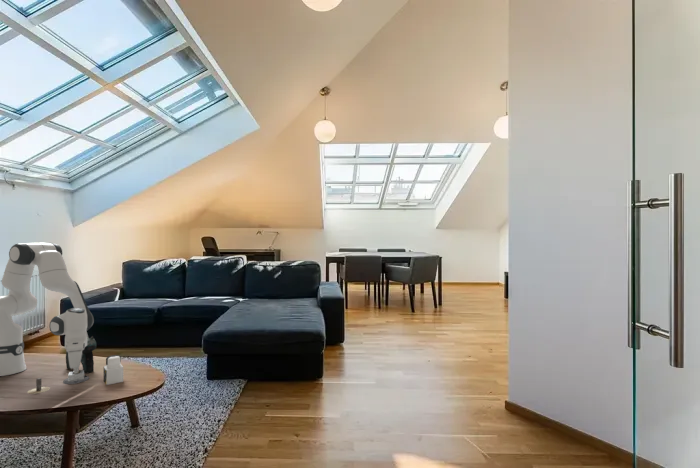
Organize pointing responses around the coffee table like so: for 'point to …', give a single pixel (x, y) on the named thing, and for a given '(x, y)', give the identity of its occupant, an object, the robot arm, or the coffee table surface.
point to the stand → (38, 388)
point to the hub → (76, 381)
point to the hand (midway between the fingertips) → (76, 372)
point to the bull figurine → (86, 356)
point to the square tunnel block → (76, 376)
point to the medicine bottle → (113, 370)
